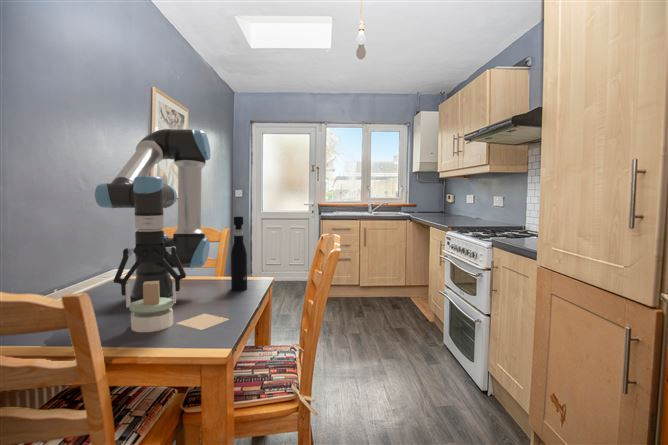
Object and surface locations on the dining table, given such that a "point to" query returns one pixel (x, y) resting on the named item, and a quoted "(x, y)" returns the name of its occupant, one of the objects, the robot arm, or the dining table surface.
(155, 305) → the lid
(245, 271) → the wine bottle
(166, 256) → the robot arm
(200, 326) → the mat
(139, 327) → the bowl
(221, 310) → the dining table surface
